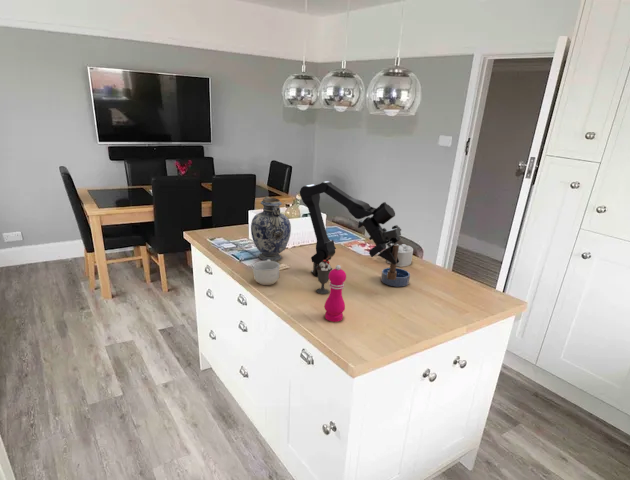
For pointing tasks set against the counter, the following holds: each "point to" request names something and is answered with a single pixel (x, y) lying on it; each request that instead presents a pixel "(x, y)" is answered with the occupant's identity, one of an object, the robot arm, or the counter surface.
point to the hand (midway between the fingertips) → (396, 263)
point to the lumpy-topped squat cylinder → (404, 255)
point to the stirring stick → (392, 272)
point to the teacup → (266, 272)
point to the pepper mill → (335, 295)
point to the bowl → (400, 280)
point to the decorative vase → (270, 230)
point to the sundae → (323, 275)
